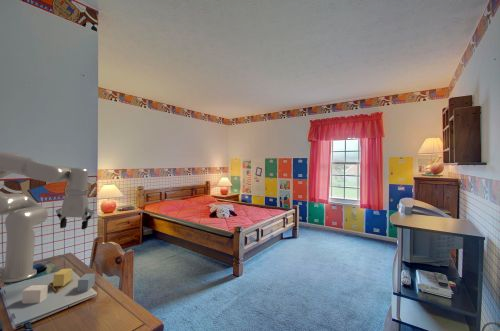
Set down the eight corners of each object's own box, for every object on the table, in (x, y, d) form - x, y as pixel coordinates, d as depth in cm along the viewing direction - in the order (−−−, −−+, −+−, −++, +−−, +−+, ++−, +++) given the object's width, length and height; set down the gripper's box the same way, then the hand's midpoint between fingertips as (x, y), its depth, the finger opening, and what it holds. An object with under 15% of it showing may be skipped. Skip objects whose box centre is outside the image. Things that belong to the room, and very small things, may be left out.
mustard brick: (63, 286, 101) (64, 274, 101) (52, 286, 100) (53, 274, 100) (71, 279, 107) (72, 268, 107) (61, 279, 106) (62, 268, 106)
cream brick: (22, 303, 89) (23, 290, 89) (30, 297, 93) (31, 285, 93) (39, 303, 90) (40, 290, 90) (47, 297, 94) (47, 285, 94)
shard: (57, 294, 98) (57, 290, 98) (37, 294, 97) (37, 290, 97) (73, 282, 108) (73, 278, 108) (55, 281, 107) (56, 277, 108)
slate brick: (87, 291, 100) (88, 279, 100) (77, 291, 100) (78, 280, 100) (94, 284, 106) (95, 273, 106) (84, 284, 105) (85, 273, 106)
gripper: (52, 192, 110) (48, 229, 109) (91, 195, 111) (87, 231, 111) (63, 191, 117) (60, 225, 117) (99, 193, 119) (96, 227, 118)
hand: (73, 228), depth 114 cm, fingers open, 9 cm apart
